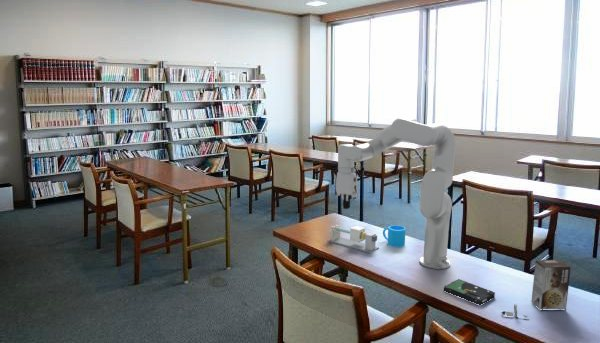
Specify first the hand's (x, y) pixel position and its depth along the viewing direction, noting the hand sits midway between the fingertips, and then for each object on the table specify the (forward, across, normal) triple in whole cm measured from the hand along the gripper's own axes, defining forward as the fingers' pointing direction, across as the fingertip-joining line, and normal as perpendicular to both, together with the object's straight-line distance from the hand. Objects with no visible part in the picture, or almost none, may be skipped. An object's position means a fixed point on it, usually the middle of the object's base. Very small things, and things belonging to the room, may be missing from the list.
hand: (346, 208), depth 217 cm
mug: (+18, -16, -15) cm, 29 cm away
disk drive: (+21, -65, +16) cm, 70 cm away
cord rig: (+18, -3, 0) cm, 18 cm away
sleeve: (+15, -6, 0) cm, 16 cm away
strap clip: (+21, -82, +21) cm, 88 cm away
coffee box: (+21, -89, +6) cm, 92 cm away
